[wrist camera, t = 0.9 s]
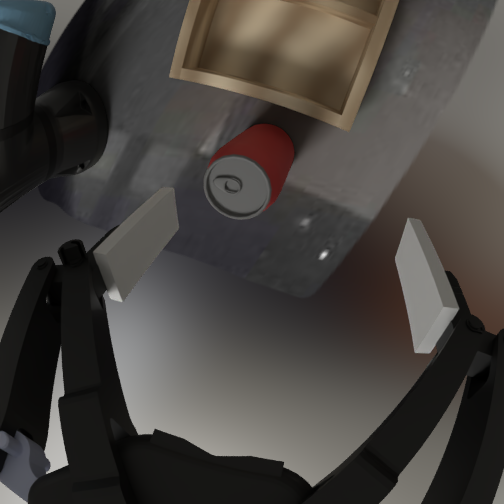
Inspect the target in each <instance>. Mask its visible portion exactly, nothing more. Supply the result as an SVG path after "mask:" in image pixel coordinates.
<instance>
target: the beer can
mask: <svg viewBox="0 0 504 504" xmlns="http://www.w3.org/2000/svg"><path fill="white" fill-rule="evenodd" d="M294 153H295V152H294V146H293V143H292V141H291V139H290V137H289V135H288V134H286V133H285V132H284V131H283V130H282V129H281V128H279V127H277V126H275V125H271V124H257V125H254V126H252V127H250V128H248V129H246V130H245V131H244V132H242V133H241V134H239V135H238V136H237V137H235V138H234V139H232V140H231V141H230V142H228V143H227V144H225V145H224V146H223V147H221V148H220V149H219V150H218V151H217V152H216V153H215V155H214V156H213V157H212V158H211V161H210V163H209V166H208V168H207V171H206V173H205V176H204V191H205V194H206V197H207V199H208V200H209V202H210V204H211V205H212V206H213V207H214V208H215V209H216V210H217V211H218V212H219V213H221V214H223V215H225V216H227V217H229V218H234V219H238V220H241V219H250V218H252V217H255V216H257V215H259V214H260V213H261V212H262V211H265V210H266V209H267V208H268V207H269V206H270V205H272V204H273V203H274V202H275V201H276V199H277V197H278V195H279V194H280V192H281V190H282V187H283V185H284V182H285V180H286V177H287V175H288V172H289V170H290V168H291V165H292V163H293V159H294Z"/></svg>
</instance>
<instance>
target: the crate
mask: <svg viewBox="0 0 504 504" xmlns="http://www.w3.org/2000/svg"><path fill="white" fill-rule="evenodd" d="M398 2H399V0H190V1H189V4H188V7H187V11H186V14H185V17H184V21H183V24H182V28H181V31H180V35H179V39H178V42H177V46H176V50H175V54H174V58H173V63H172V67H171V71H170V76H169V77H171V78H176V79H182V80H187V81H192V82H196V83H201V84H205V85H210V86H214V87H218V88H222V89H226V90H230V91H234V92H237V93H241V94H245V95H248V96H251V97H255V98H258V99H261V100H265V101H268V102H271V103H274V104H277V105H280V106H283V107H286V108H289V109H292V110H295V111H297V112H300V113H303V114H306V115H308V116H311V117H314V118H316V119H319V120H321V121H324V122H326V123H329V124H331V125H334V126H336V127H338V128H341V129H343V130H345V131H348V132H349V131H350V129H351V127H352V124H353V122H354V119H355V117H356V114H357V112H358V109H359V107H360V105H361V102H362V100H363V97H364V95H365V92H366V89H367V87H368V84H369V82H370V79H371V77H372V74H373V71H374V69H375V66H376V64H377V61H378V58H379V56H380V53H381V50H382V48H383V45H384V42H385V39H386V37H387V34H388V31H389V28H390V25H391V23H392V20H393V17H394V14H395V11H396V8H397V5H398Z"/></svg>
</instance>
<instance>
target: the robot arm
mask: <svg viewBox="0 0 504 504" xmlns="http://www.w3.org/2000/svg"><path fill="white" fill-rule="evenodd" d="M55 15H56V11H55V8H54V6H53V5H52V4H51V3H49V2H45V1H38V0H0V212H2V211H3V210H4V209H6V208H7V207H8V206H10V205H11V204H12V203H14V202H15V201H17V200H18V199H19V198H21V197H22V196H24V195H25V194H27V193H28V192H29V191H31V190H32V189H34V188H35V187H37V186H38V185H40V184H41V183H43V182H45V181H46V180H48V179H50V178H56V177H62V176H69V175H76V174H79V173H82V172H83V171H85V170H87V169H89V168H90V167H92V166H93V165H95V164H96V163H97V162H98V160H99V159H100V157H101V156H102V154H103V151H104V149H105V145H106V141H107V132H108V126H107V117H106V112H105V108H104V106H103V103H102V101H101V99H100V97H99V95H98V94H97V92H96V91H95V90H94V89H93V88H92V87H91V86H90V85H89V84H87V83H85V82H83V81H80V80H71V81H66V82H62V83H59V84H57V85H55V86H53V87H52V88H50V89H49V90H48V91H46V92H45V93H43V94H42V95H41V96H39V97H38V98H37V99H36V95H37V89H38V84H39V79H40V74H41V70H42V65H43V60H44V57H45V53H46V49H47V46H48V45H49V44H50V40H49V38H50V34H51V30H52V26H53V23H54V19H55ZM178 229H179V225H178V218H177V210H176V202H175V194H174V188H168V187H162V188H161V189H160V190H158V191H157V192H156V193H155V194H154V195H153V196H152V197H150V198H149V199H148V200H147V201H146V202H145V203H144V204H143V205H141V206H140V207H139V208H138V209H137V210H136V211H135V212H134V213H133V214H132V215H130V216H129V217H128V218H127V219H126V220H125V221H124V222H123V223H122V224H121V225H118V226H116V227H114V228H113V229H111V230H110V231H109V232H108V233H106V234H105V236H104V237H102V238H101V239H100V241H98V242H97V243H96V244H95V245H94V246H93V247H92V248H91V249H90V250H89V251H88V252H87V253H86V251H85V248H84V245H83V242H82V241H81V240H76V239H75V240H70V241H68V242H66V243H64V244H63V245H62V246H61V247H60V248H59V250H58V254H59V257H60V259H61V261H62V264H63V265H55V263H54V261H53V259H52V258H51V257H44V258H41V259H39V260H38V261H37V262H36V263H35V264H34V265H33V266H32V268H31V270H30V272H29V274H28V276H27V278H26V280H25V283H24V285H23V287H22V289H21V291H20V294H19V296H18V298H17V300H16V303H15V305H14V308H13V310H12V313H11V315H10V317H9V320H8V323H7V325H6V328H5V331H4V334H3V337H2V339H1V342H0V481H1V482H2V483H3V484H4V485H6V486H7V487H8V488H9V489H10V490H12V491H13V492H14V493H16V494H17V495H18V496H19V497H21V498H22V499H23V500H25V501H26V502H28V504H379V503H380V502H381V501H382V500H383V499H384V498H385V497H386V496H387V495H388V493H389V492H390V491H391V490H392V489H393V487H394V486H395V485H396V483H397V482H398V476H399V474H400V473H401V472H402V471H403V469H404V468H405V467H406V466H407V465H408V463H409V462H410V461H411V459H412V458H413V457H414V456H415V454H416V453H417V452H418V450H419V449H420V448H421V447H422V445H423V444H424V442H425V441H426V439H427V438H428V437H429V435H430V434H431V433H432V431H433V430H434V428H435V427H436V425H437V423H438V422H439V421H440V419H441V418H442V416H443V414H444V413H445V411H446V410H447V408H448V406H449V405H450V403H451V401H452V399H453V398H454V396H455V394H456V392H457V391H458V389H459V387H460V385H461V383H462V382H463V380H464V378H465V376H466V375H467V380H466V384H465V389H464V392H463V396H462V400H461V404H460V407H459V411H458V414H457V418H456V421H455V424H454V427H453V430H452V433H451V436H450V439H449V442H448V445H447V447H446V450H445V453H444V455H443V458H442V460H441V462H440V465H439V467H438V470H437V472H436V474H435V476H434V479H433V481H432V483H431V485H430V487H429V490H428V491H427V493H426V495H425V497H424V499H423V501H422V503H421V504H492V503H493V500H494V497H495V494H496V491H497V488H498V486H499V482H500V479H501V476H502V472H503V469H504V329H502V330H500V332H499V333H498V334H497V335H494V334H492V333H489V332H487V331H485V327H484V325H483V323H482V321H481V320H480V319H479V318H477V317H476V316H474V315H471V313H470V310H469V308H468V305H467V303H466V300H465V298H464V295H462V294H463V293H462V290H461V288H460V286H459V283H458V281H457V279H456V278H455V276H454V275H453V274H452V273H451V272H450V271H444V269H443V266H442V264H441V262H440V260H439V258H438V255H437V253H436V251H435V249H434V247H433V245H432V242H431V240H430V238H429V236H428V234H427V232H426V230H425V228H424V226H423V224H422V222H421V220H418V219H413V218H408V220H407V223H406V226H405V230H404V233H403V236H402V239H401V242H400V245H399V248H398V251H397V254H396V257H395V262H396V265H397V269H398V272H399V277H400V281H401V285H402V289H403V293H404V298H405V302H406V307H407V311H408V317H409V322H410V327H411V332H412V338H413V344H414V350H415V352H416V353H430V352H431V351H432V349H433V348H434V347H435V345H436V347H437V354H436V355H435V356H434V358H433V359H432V360H431V361H430V363H429V364H428V365H427V368H426V369H425V371H424V372H423V373H422V375H421V376H420V377H419V379H418V380H417V382H416V383H415V384H414V385H413V387H412V388H411V389H410V391H409V392H408V393H407V394H406V396H405V397H404V398H403V399H402V400H401V402H400V403H399V404H398V405H397V407H396V408H395V409H394V410H393V411H392V412H391V414H390V415H389V416H388V417H387V418H386V419H385V420H384V421H383V423H382V424H381V425H380V426H379V427H378V428H377V429H376V430H375V431H374V432H373V433H372V434H371V435H370V437H369V438H368V439H367V440H366V441H365V442H364V443H363V444H362V445H361V446H360V447H359V448H358V449H357V450H355V451H354V452H353V453H352V454H351V455H350V456H349V457H348V458H347V459H346V460H345V461H344V462H343V463H342V464H341V465H339V467H337V468H336V469H335V470H333V471H332V472H331V473H330V474H328V475H327V476H326V477H325V478H324V479H322V480H321V481H320V482H319V483H317V484H316V485H315V486H314V487H311V486H310V484H309V483H308V482H307V481H306V480H305V479H303V478H302V477H300V476H299V475H298V474H296V473H295V472H292V471H291V470H289V469H286V468H284V467H283V465H284V462H282V461H275V460H269V459H263V458H258V457H253V456H214V455H211V454H209V453H208V452H206V451H204V450H202V449H200V448H199V447H197V446H195V445H194V444H192V443H190V442H188V441H187V440H185V439H183V438H180V437H177V436H174V435H171V434H168V433H165V432H162V431H160V430H157V429H155V430H154V433H153V435H152V434H143V435H138V433H137V431H136V429H135V427H134V425H133V423H132V421H131V419H130V416H129V413H128V410H127V406H126V402H125V399H124V395H123V391H122V387H121V383H120V379H119V375H118V371H117V366H116V362H115V358H114V353H113V347H112V342H111V337H110V331H109V325H108V319H107V313H106V305H105V300H104V297H103V294H104V292H105V291H106V290H107V292H108V294H109V297H110V299H113V300H116V301H120V302H123V301H124V300H125V299H126V297H127V296H128V294H129V293H130V292H131V290H132V289H133V288H134V286H135V285H136V283H137V282H138V281H139V279H140V278H141V277H142V275H143V274H144V273H145V271H146V270H147V269H148V267H149V266H150V265H151V263H152V262H153V261H154V259H155V258H156V257H157V256H158V254H159V253H160V252H161V250H162V249H163V248H164V247H165V245H166V244H167V243H168V242H169V240H170V239H171V238H172V237H173V235H174V234H175V233H176V232H177V230H178ZM46 300H47V303H46ZM60 347H61V351H62V369H63V381H64V391H65V394H64V396H63V397H60V398H59V400H58V407H59V415H60V422H61V429H62V434H63V440H64V445H65V451H66V455H67V460H68V464H69V465H67V466H65V467H63V468H61V469H58V470H56V471H53V472H51V473H48V474H46V472H47V471H48V470H49V469H50V462H49V460H48V459H47V458H46V456H45V453H44V450H45V447H46V441H47V437H48V428H49V419H50V409H51V401H52V393H53V386H54V379H55V373H56V368H57V362H58V357H59V352H60Z"/></svg>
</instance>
